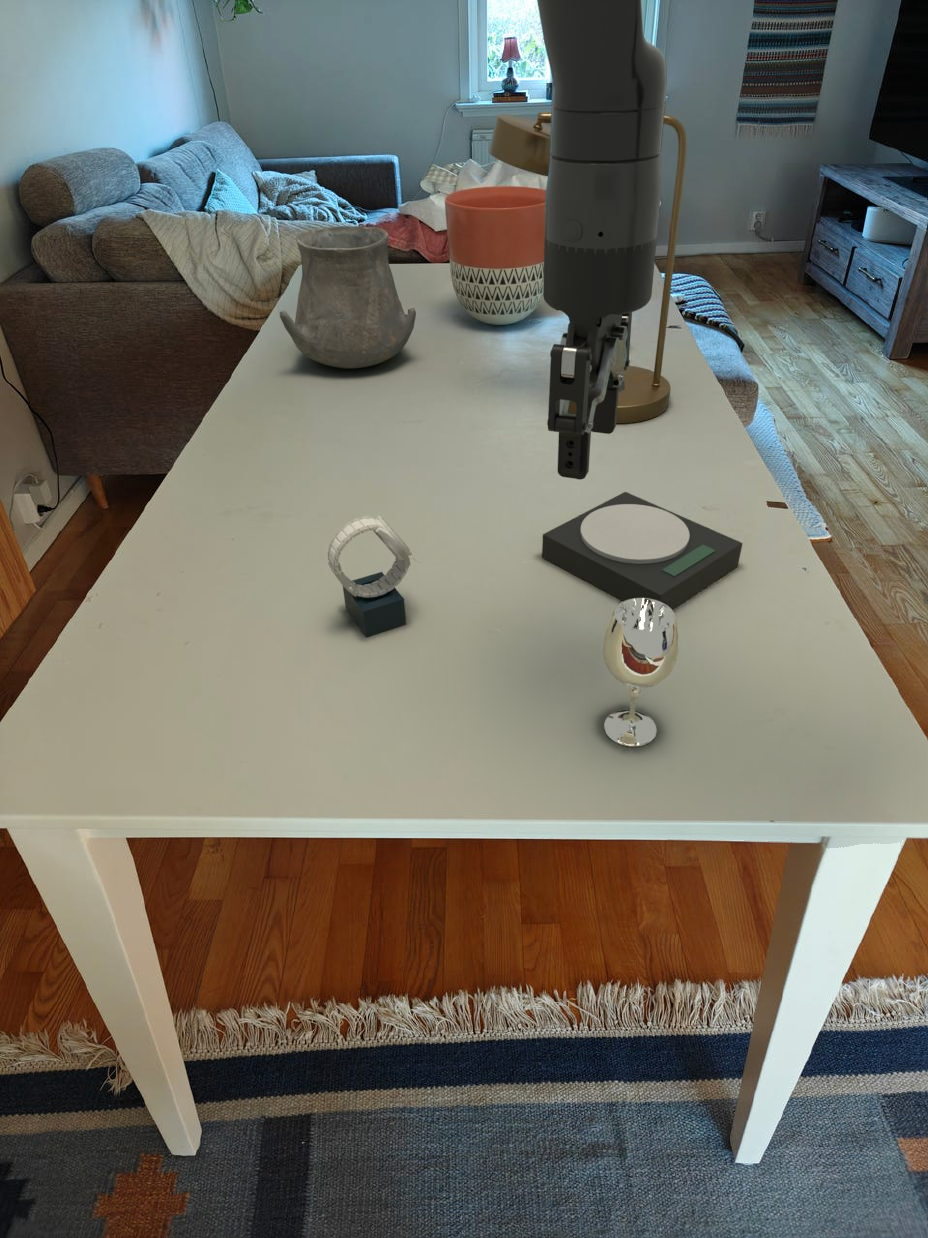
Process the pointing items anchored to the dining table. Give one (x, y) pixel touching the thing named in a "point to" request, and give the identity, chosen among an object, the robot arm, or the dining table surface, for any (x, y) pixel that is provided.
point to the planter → (497, 250)
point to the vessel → (348, 299)
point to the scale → (641, 551)
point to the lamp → (642, 387)
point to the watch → (372, 578)
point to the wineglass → (639, 662)
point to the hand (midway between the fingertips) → (587, 452)
